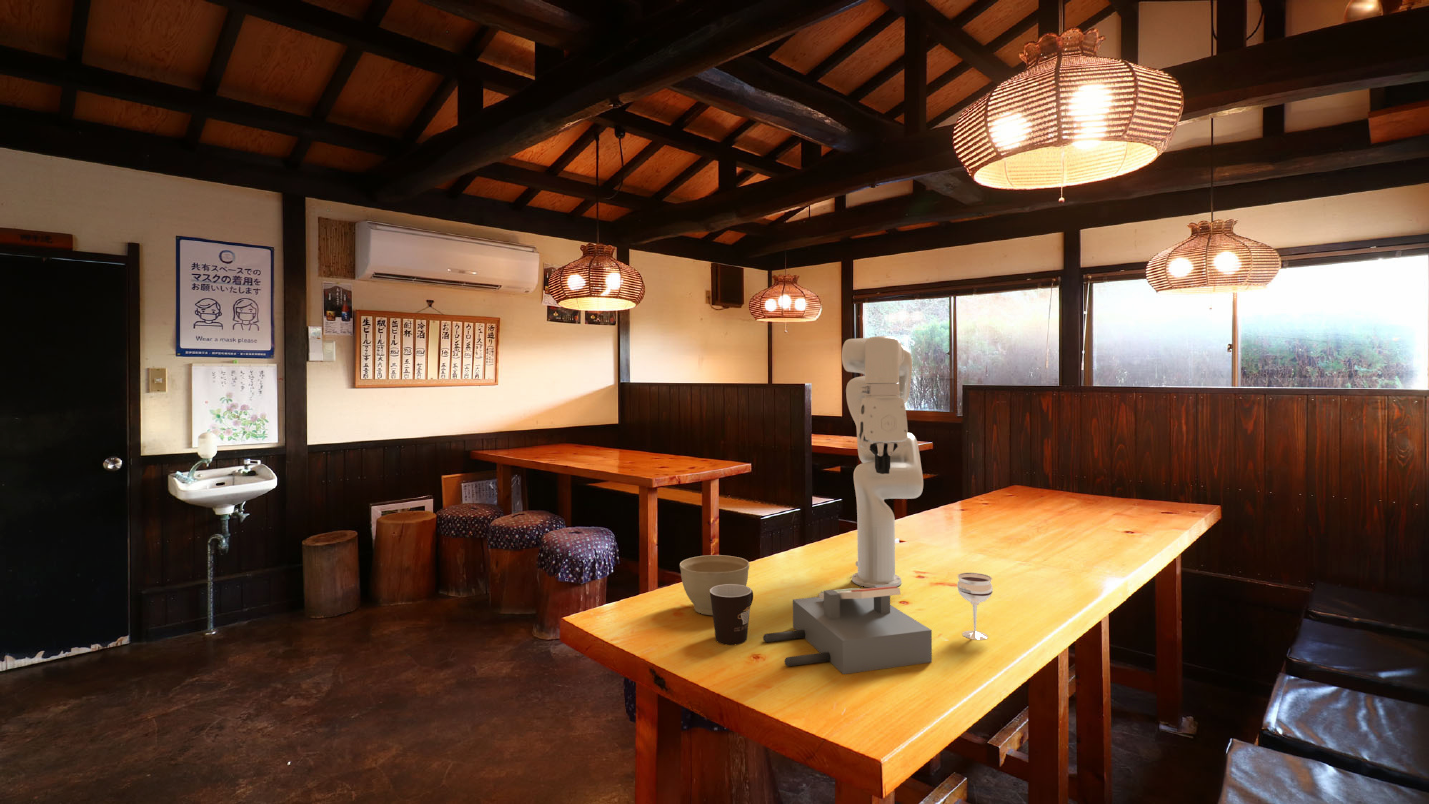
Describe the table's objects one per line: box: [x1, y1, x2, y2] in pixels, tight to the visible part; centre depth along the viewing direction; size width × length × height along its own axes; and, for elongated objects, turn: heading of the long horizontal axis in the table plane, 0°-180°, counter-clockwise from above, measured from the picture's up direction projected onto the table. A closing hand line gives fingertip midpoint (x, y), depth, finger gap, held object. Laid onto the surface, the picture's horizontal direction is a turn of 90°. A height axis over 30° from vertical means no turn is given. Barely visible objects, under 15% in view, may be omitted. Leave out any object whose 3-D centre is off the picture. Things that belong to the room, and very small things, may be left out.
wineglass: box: [956, 572, 993, 641], centre depth 134 cm, size 7×7×12 cm
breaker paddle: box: [818, 586, 902, 600], centre depth 130 cm, size 20×8×2 cm, turn 15°
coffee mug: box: [710, 584, 754, 646], centre depth 134 cm, size 12×9×10 cm
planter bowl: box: [679, 554, 750, 616], centre depth 152 cm, size 16×16×11 cm
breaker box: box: [762, 585, 933, 675], centre depth 129 cm, size 24×27×11 cm
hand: (882, 472), depth 147 cm, fingers closed
